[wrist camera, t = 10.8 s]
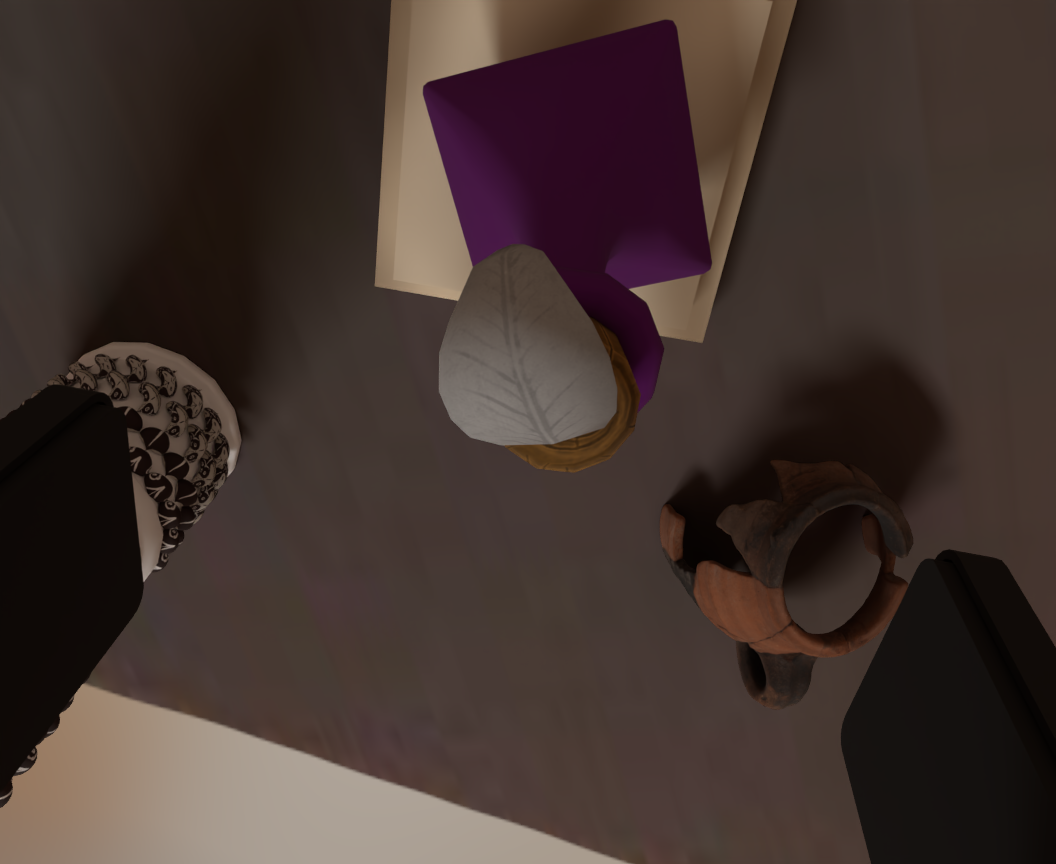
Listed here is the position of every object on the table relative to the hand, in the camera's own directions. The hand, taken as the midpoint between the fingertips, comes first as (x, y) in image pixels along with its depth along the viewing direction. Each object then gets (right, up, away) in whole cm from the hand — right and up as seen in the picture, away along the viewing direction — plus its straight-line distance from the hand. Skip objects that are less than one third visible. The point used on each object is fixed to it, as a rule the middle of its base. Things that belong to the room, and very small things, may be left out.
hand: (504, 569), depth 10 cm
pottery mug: (+12, -3, +30) cm, 33 cm away
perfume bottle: (+2, +11, +19) cm, 22 cm away
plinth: (+2, +13, +22) cm, 25 cm away
